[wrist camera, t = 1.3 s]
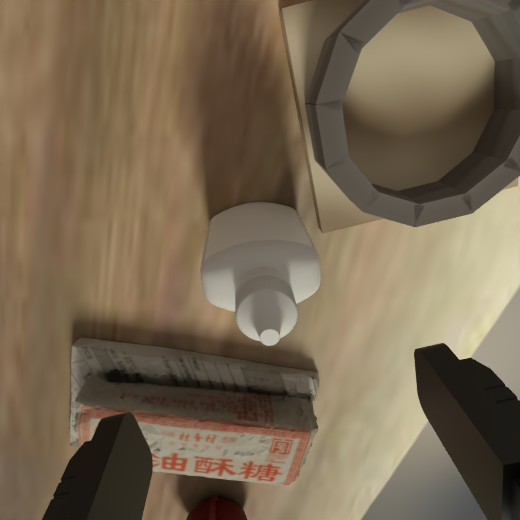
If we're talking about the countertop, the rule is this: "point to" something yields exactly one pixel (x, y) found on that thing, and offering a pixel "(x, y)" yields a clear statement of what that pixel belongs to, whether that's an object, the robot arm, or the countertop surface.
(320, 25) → the collar board
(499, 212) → the countertop surface
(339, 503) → the countertop surface
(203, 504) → the red-capped knob on stick
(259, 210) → the eye dropper bottle
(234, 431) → the packaged product
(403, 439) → the countertop surface
